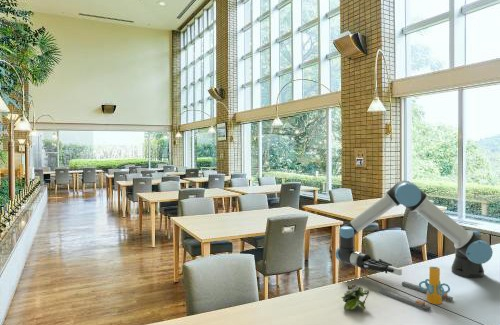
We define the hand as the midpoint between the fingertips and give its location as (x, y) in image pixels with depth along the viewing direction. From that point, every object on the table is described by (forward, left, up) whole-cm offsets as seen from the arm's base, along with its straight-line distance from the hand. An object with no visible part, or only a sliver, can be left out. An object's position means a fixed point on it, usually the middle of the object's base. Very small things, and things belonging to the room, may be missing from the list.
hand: (400, 272), depth 174 cm
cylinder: (-13, +9, -9) cm, 18 cm away
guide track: (-7, +5, -9) cm, 12 cm away
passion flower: (+19, +24, -9) cm, 33 cm away
